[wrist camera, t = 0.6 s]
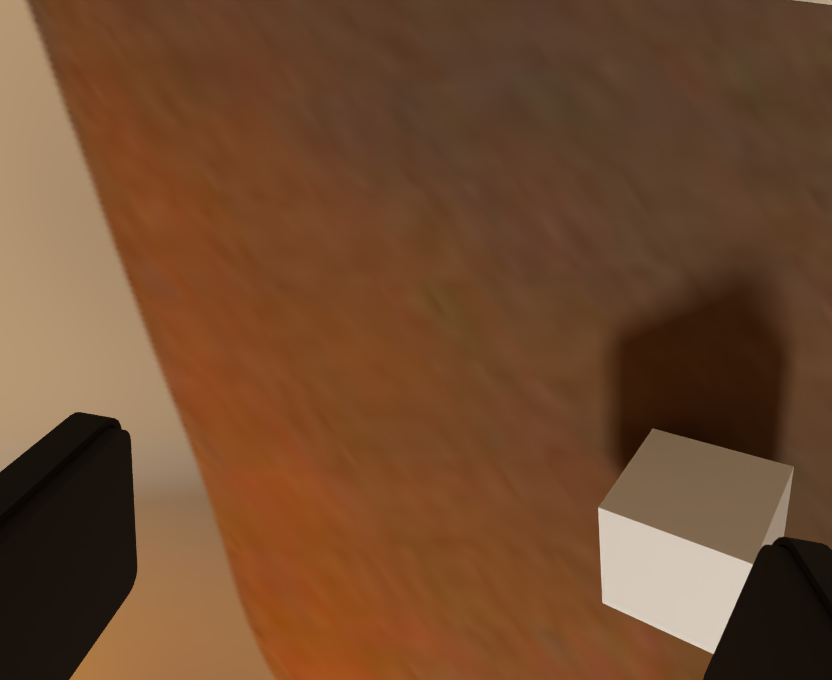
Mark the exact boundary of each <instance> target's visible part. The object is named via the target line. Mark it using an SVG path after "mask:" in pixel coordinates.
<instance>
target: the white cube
mask: <svg viewBox="0 0 832 680" xmlns="http://www.w3.org/2000/svg"><path fill="white" fill-rule="evenodd" d="M793 469H794V467H793V466H789V465H786V464H782V463H778V462H775V461H771V460H767V459H764V458H760V457H756V456H752V455H749V454H745V453H741V452H738V451H734V450H730V449H727V448H723V447H719V446H716V445H712V444H708V443H705V442H701V441H697V440H694V439H690V438H686V437H683V436H679V435H675V434H671V433H668V432H664V431H660V430H657V429H652V430H651V432H650V433H649V435H648V436H647V437H646V439H645V440H644V442H643V443H642V445H641V446H640V448H639V449H638V451H637V452H636V453H635V455H634V456H633V458H632V459H631V461H630V462H629V464H628V465H627V467H626V468H625V469H624V471H623V472H622V474H621V475H620V477H619V478H618V480H617V481H616V482H615V484H614V485H613V487H612V488H611V490H610V491H609V493H608V494H607V496H606V497H605V498H604V500H603V501H602V503H601V504H600V506H599V507H598V512H599V534H600V557H601V580H602V602H603V603H604V604H606V605H608V606H610V607H613V608H615V609H617V610H619V611H621V612H623V613H626V614H628V615H630V616H632V617H634V618H636V619H639V620H641V621H643V622H645V623H647V624H649V625H652V626H654V627H656V628H658V629H660V630H662V631H665V632H667V633H669V634H671V635H673V636H675V637H678V638H680V639H682V640H684V641H686V642H688V643H691V644H693V645H695V646H697V647H699V648H701V649H704V650H706V651H708V652H710V653H712V654H714V652H715V650H716V648H717V645H718V643H719V641H720V638H721V636H722V634H723V632H724V629H725V627H726V625H727V623H728V620H729V618H730V616H731V613H732V611H733V609H734V607H735V604H736V602H737V600H738V598H739V595H740V593H741V591H742V588H743V586H744V584H745V582H746V579H747V577H748V575H749V573H750V570H751V568H752V566H753V563H754V561H755V559H756V557H757V554H758V552H759V551H760V549H761V547H763V546H764V545H768V544H769V545H772V544H773V542H774V541H775V540H776V539H777V538H779V537H784V531H785V524H786V517H787V510H788V504H789V497H790V490H791V483H792V476H793Z"/></svg>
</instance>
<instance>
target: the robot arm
mask: <svg viewBox="0 0 832 680" xmlns="http://www.w3.org/2000/svg"><path fill="white" fill-rule="evenodd" d="M136 574H137V554H136V533H135V514H134V493H133V474H132V454H131V439H130V434H129V433H128V432H127V431H126V430H121V425H120V423H119V421H118V420H116V419H115V418H110V417H104V416H98V415H93V414H87V413H81V412H77V413H74V414H72V415H70V416H69V417H68V418H67V419H65V420H64V421H63V422H62V423H60V424H59V425H58V426H57V427H56V428H54V429H53V430H52V431H51V432H49V433H48V434H47V435H46V436H44V437H43V438H42V439H41V440H39V441H38V442H37V443H36V444H34V445H33V446H32V447H31V448H30V449H29V450H27V451H26V452H25V453H23V454H22V455H21V456H20V457H18V458H17V459H16V460H15V461H13V463H11V464H10V465H8V466H7V467H6V468H5V469H4V470H2V471H1V472H0V680H69V679H70V678H71V676H72V675H73V673H74V672H75V671H76V669H77V668H78V666H79V665H80V663H81V662H82V661H83V659H84V658H85V656H86V655H87V653H88V652H89V651H90V649H91V648H92V646H93V645H94V643H95V642H96V641H97V639H98V638H99V636H100V635H101V633H102V632H103V630H104V629H105V628H106V626H107V625H108V623H109V622H110V620H111V619H112V618H113V616H114V615H115V613H116V612H117V610H118V609H119V608H120V606H121V605H122V603H123V602H124V600H125V599H126V597H127V596H128V594H129V593H130V591H131V589H132V587H133V585H134V581H135V579H136ZM703 680H832V550H831V549H830V548H829V547H828V546H827V545H824V544H822V543H816V542H811V541H805V540H800V539H794V538H788V537H779V538H777V539H776V540H775V541H774V542H773V544H772V545H769V544H768V545H764V546H763V547H761V549H760V551H759V552H758V554H757V557H756V559H755V561H754V563H753V566H752V568H751V570H750V573H749V575H748V577H747V579H746V582H745V584H744V586H743V588H742V591H741V593H740V595H739V598H738V600H737V602H736V604H735V607H734V609H733V611H732V613H731V616H730V618H729V620H728V623H727V625H726V627H725V629H724V632H723V634H722V636H721V638H720V641H719V643H718V645H717V648H716V650H715V652H714V654H713V657H712V659H711V661H710V663H709V666H708V668H707V670H706V673H705V675H704V679H703Z"/></svg>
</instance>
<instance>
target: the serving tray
mask: <svg viewBox="0 0 832 680" xmlns="http://www.w3.org/2000/svg"><path fill="white" fill-rule="evenodd" d="M796 1H804V2H812V3H821V4H829V5H832V0H796Z"/></svg>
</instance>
